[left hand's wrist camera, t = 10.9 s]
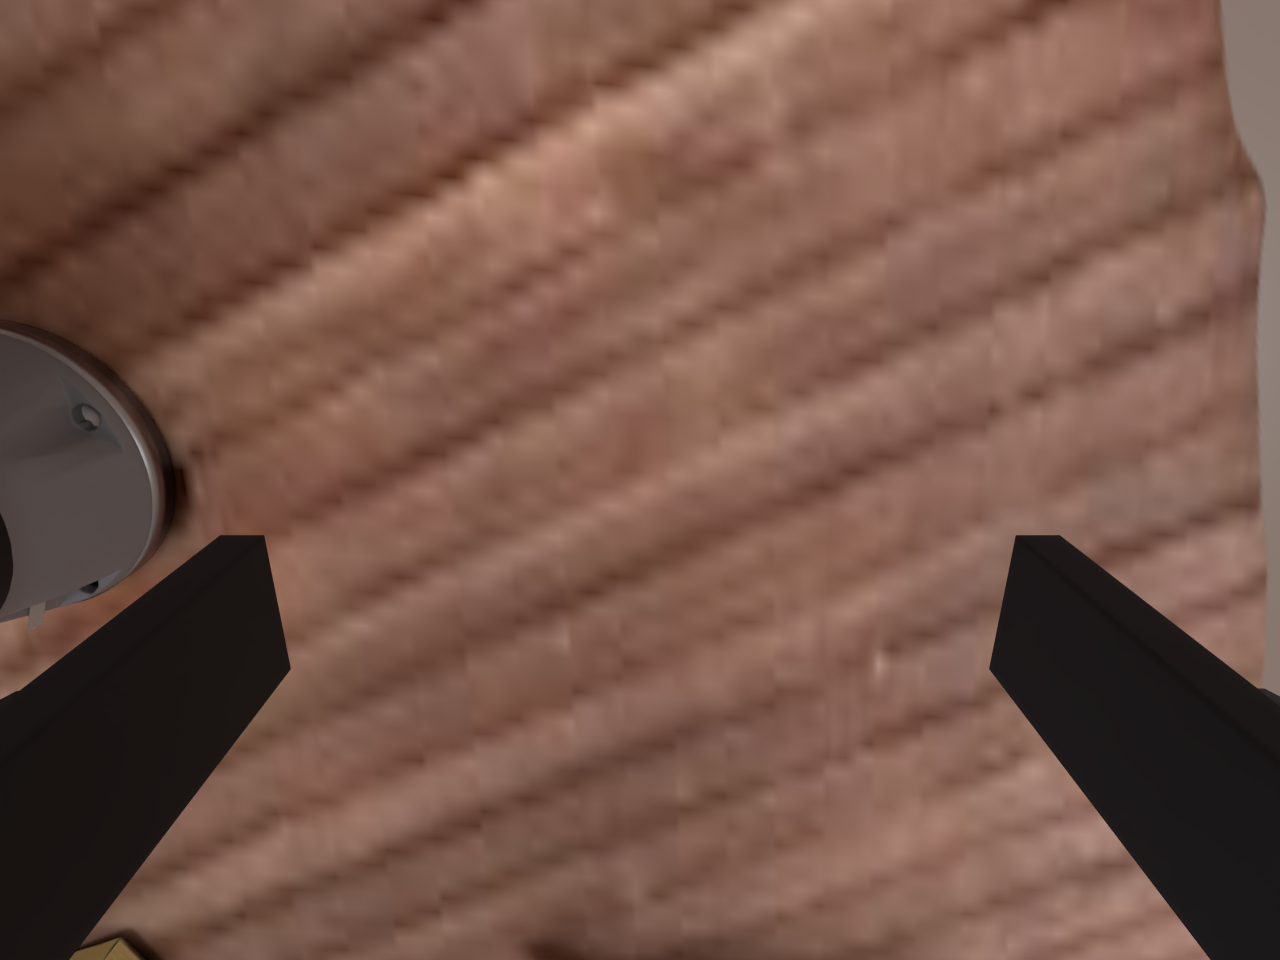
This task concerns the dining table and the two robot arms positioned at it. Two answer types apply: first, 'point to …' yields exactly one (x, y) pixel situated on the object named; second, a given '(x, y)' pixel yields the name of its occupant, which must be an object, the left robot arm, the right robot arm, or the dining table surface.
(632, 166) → the dining table surface
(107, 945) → the toy
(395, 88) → the dining table surface
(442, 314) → the dining table surface
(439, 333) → the dining table surface
